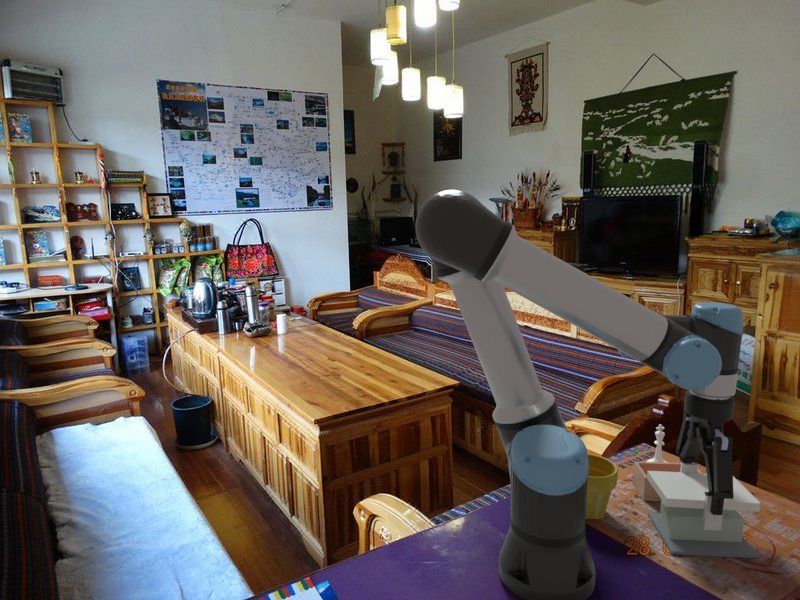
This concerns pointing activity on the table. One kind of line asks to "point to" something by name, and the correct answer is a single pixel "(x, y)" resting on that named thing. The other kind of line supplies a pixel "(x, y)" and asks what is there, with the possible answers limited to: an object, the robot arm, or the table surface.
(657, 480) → the board
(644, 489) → the open box
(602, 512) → the plant pot
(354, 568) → the table surface
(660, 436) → the chess piece
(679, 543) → the stand
